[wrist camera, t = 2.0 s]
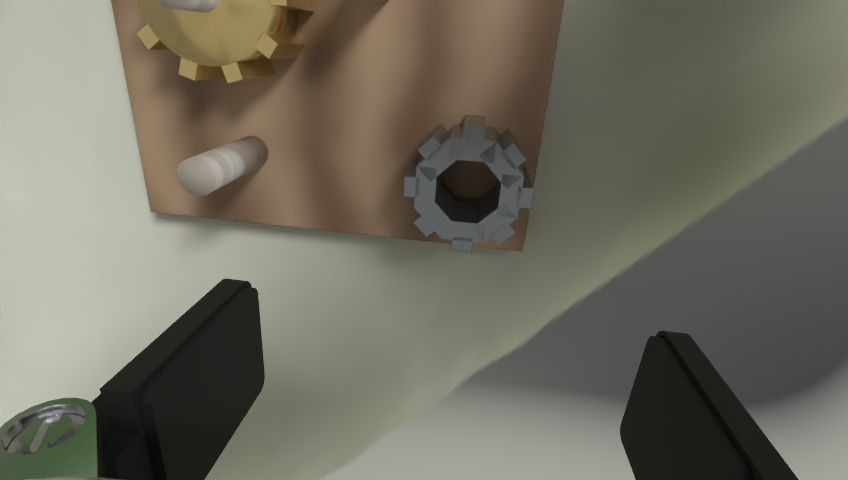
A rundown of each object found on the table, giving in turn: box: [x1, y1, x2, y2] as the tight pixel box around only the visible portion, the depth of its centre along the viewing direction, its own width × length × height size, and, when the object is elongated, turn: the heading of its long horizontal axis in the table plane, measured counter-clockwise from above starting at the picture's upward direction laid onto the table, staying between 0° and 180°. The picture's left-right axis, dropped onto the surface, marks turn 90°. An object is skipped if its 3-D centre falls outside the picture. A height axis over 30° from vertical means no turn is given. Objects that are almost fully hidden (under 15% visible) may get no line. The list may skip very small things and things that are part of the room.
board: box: [111, 0, 564, 251], centre depth 25 cm, size 26×20×8 cm
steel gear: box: [404, 115, 534, 252], centre depth 26 cm, size 7×7×4 cm
